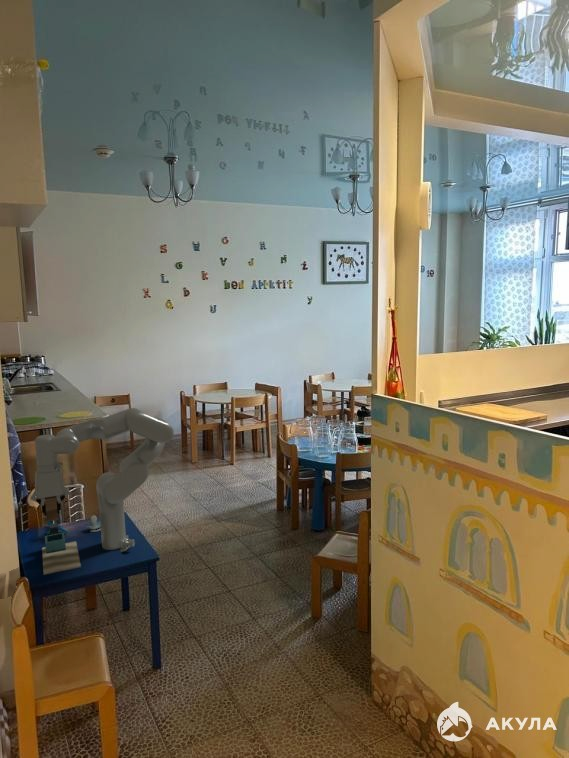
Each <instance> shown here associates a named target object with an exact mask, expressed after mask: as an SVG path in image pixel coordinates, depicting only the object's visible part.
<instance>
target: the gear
mask: <svg viewBox="0 0 569 758" xmlns="http://www.w3.org/2000/svg"><path fill="white" fill-rule="evenodd" d="M46 524H49V525H54V524H55V523H53V522H52V521H49V522H47V521H46ZM57 525H58V531H61V533H64V534H66V535H68V533H69V532H68V531H67V530H65V529H64V528H62V527H61V526H60V525H59V524H57ZM46 534H47V535H48V534H49V535H50V527H49V530H48V531H47V533H46Z"/></svg>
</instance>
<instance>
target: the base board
mask: <svg viewBox="0 0 569 758" xmlns="http://www.w3.org/2000/svg"><path fill="white" fill-rule="evenodd" d="M65 545H66V550H64V551H58V552H53V553H48V554H46V546H44V547H42V548H41V552H42V553H41V554H42V569H43V570H42V571H43V576H45V575H50V574H53V573H59V572H64V571H69V570H75V569H78V568H82V564H81V561H80V554H79V550H78V543H77V541H76V540H75V541H70V542H65Z"/></svg>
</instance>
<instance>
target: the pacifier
mask: <svg viewBox="0 0 569 758" xmlns="http://www.w3.org/2000/svg"><path fill="white" fill-rule="evenodd" d="M90 522H91V526H87V525H86V527H85V528H87V529H89V532H90V533H97V532H101V526H100V520H98V518H97V516H96V515H95V514H94V515H91V517H90ZM98 528H99V529H98ZM96 529H97V530H96Z"/></svg>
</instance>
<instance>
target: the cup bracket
mask: <svg viewBox="0 0 569 758" xmlns="http://www.w3.org/2000/svg"><path fill="white" fill-rule="evenodd" d="M53 524H54V525H50V524H49V528H50V529H49V530H50V533H49V535H48V534H47V535H45V536H44V542H45V543H44V545H45V547H46V554H48V553H53V552H58V551H64V550H66V545H65V543H66V537H65V536H66V535H65V533H64V532H59V530H58V525H59V524H58V523H53Z"/></svg>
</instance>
